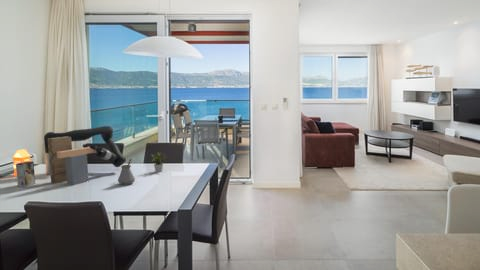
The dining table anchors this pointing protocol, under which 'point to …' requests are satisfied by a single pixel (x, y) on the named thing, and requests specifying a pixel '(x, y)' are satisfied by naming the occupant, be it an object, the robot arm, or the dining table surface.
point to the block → (74, 152)
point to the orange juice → (20, 158)
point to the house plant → (158, 162)
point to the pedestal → (76, 169)
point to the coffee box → (25, 174)
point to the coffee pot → (126, 175)
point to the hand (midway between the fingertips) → (86, 145)
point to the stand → (56, 163)
